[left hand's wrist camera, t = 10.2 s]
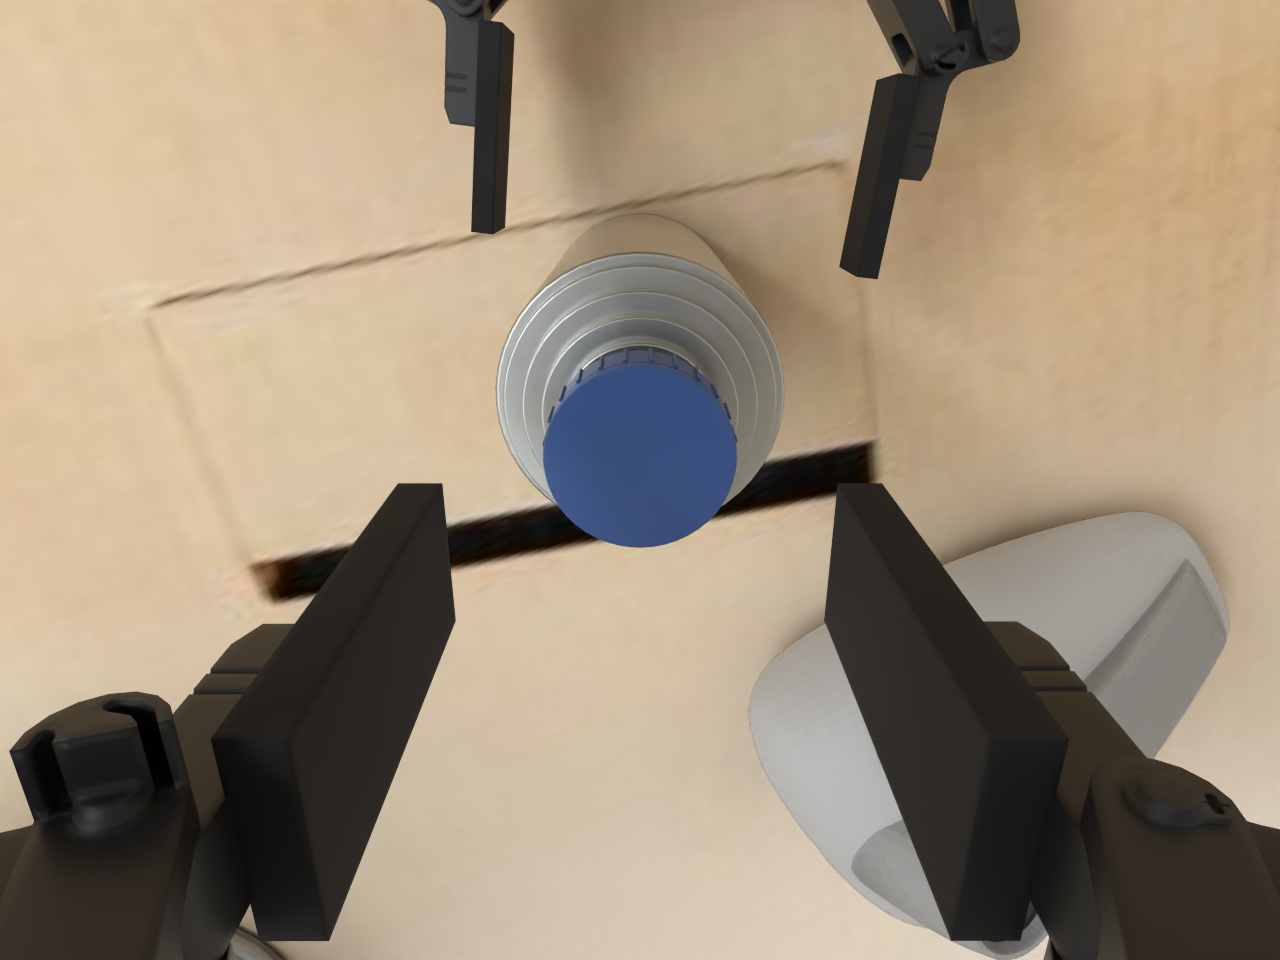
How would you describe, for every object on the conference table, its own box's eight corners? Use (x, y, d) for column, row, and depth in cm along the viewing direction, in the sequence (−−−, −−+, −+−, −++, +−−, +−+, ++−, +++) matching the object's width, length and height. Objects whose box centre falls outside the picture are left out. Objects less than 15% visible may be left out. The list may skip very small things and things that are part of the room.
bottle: (642, 430, 39) (644, 665, 21) (512, 311, 37) (391, 459, 19) (768, 306, 37) (889, 450, 19) (637, 172, 35) (634, 190, 17)
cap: (642, 554, 21) (642, 584, 20) (510, 440, 20) (500, 463, 19) (769, 435, 20) (780, 457, 19) (637, 307, 19) (636, 321, 17)
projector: (1086, 846, 49) (1259, 1113, 35) (709, 809, 48) (737, 1070, 34) (1232, 512, 41) (1529, 692, 27) (781, 458, 40) (855, 617, 26)
